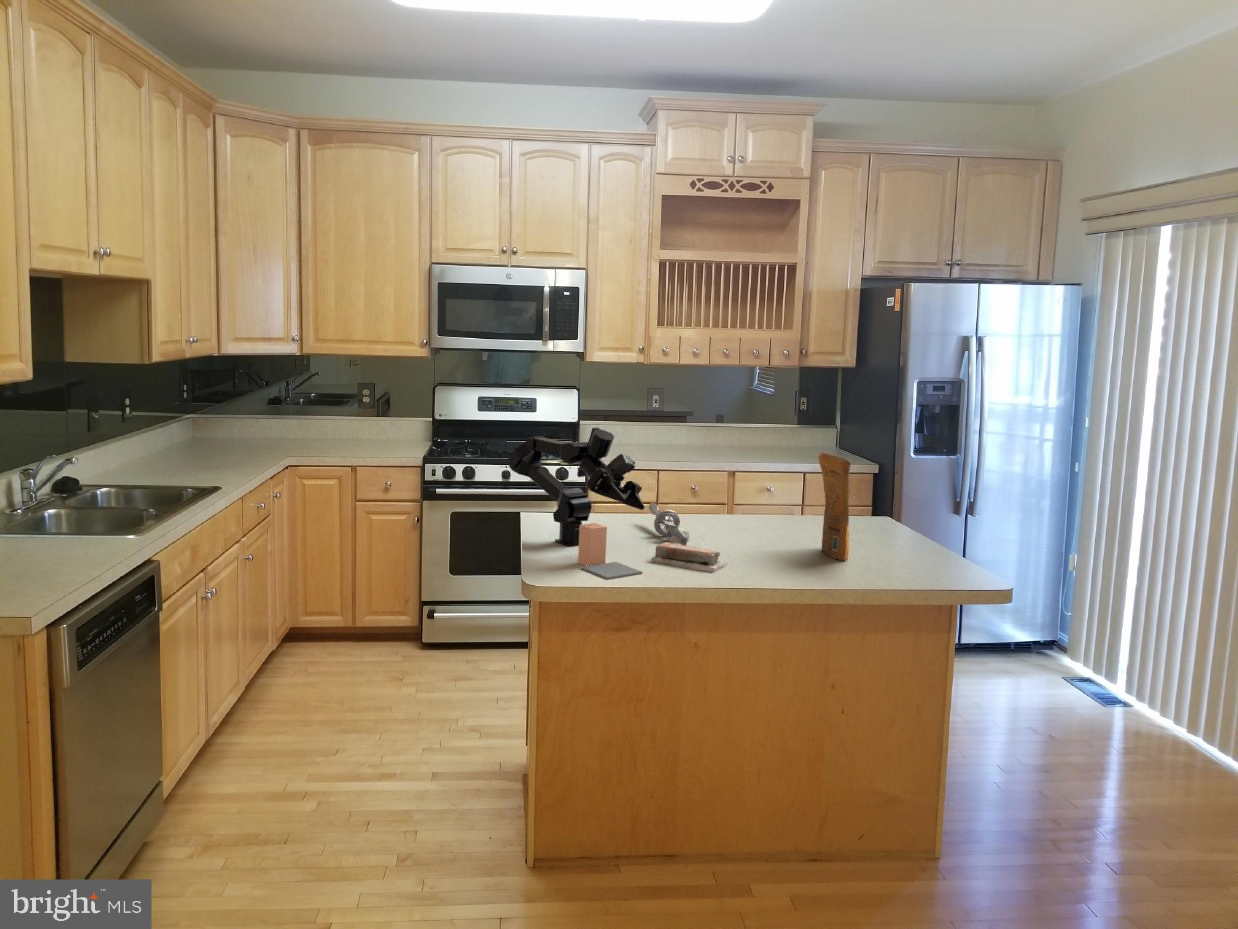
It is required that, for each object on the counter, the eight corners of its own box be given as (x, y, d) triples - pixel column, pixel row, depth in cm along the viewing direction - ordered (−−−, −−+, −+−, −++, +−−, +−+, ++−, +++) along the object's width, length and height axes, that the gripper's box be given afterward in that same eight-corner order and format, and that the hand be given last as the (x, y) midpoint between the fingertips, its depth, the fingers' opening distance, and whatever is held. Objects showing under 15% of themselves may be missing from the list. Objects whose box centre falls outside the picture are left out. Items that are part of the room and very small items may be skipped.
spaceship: (666, 497, 308) (644, 488, 306) (704, 535, 276) (680, 525, 273) (654, 520, 309) (633, 511, 307) (691, 560, 277) (667, 550, 274)
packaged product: (651, 545, 261) (666, 538, 270) (650, 563, 261) (665, 556, 270) (715, 556, 253) (729, 548, 262) (714, 574, 253) (728, 566, 262)
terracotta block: (578, 562, 257) (579, 525, 256) (593, 560, 260) (595, 523, 259) (589, 567, 253) (591, 528, 252) (605, 564, 257) (606, 526, 255)
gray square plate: (581, 569, 251) (581, 567, 251) (615, 563, 258) (615, 561, 258) (607, 579, 243) (607, 577, 243) (642, 573, 249) (642, 571, 249)
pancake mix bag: (830, 562, 269) (839, 460, 265) (810, 545, 288) (817, 449, 283) (854, 563, 270) (863, 461, 265) (832, 546, 289) (840, 450, 284)
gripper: (595, 438, 258) (631, 471, 249) (634, 456, 273) (670, 488, 264) (571, 473, 260) (606, 506, 251) (611, 489, 275) (646, 521, 265)
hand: (633, 504), depth 258 cm, fingers open, 9 cm apart
